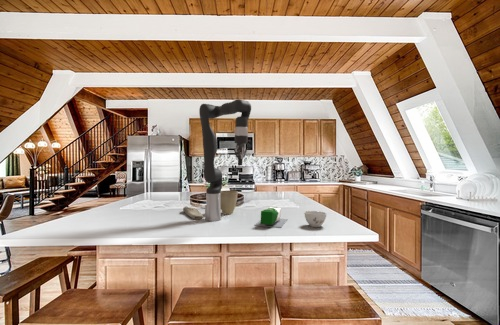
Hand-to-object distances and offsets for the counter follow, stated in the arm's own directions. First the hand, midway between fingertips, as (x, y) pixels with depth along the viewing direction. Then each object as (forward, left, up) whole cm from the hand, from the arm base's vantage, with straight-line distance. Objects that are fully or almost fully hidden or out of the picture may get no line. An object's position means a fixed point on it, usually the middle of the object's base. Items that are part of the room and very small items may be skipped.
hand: (240, 165), depth 152 cm
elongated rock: (-44, +22, -36) cm, 61 cm away
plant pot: (-22, +34, -36) cm, 54 cm away
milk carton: (+15, +3, -30) cm, 34 cm away
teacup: (+41, +16, -36) cm, 57 cm away
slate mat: (+15, +16, -36) cm, 42 cm away
